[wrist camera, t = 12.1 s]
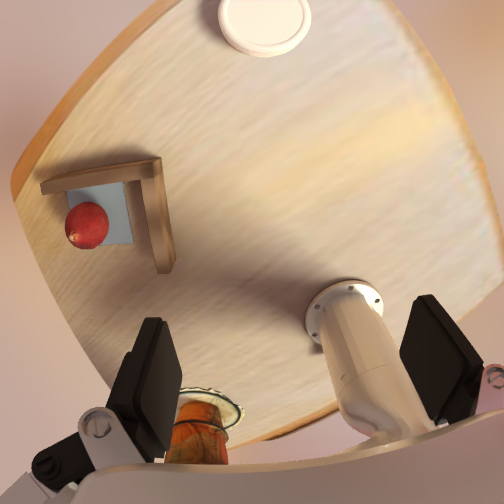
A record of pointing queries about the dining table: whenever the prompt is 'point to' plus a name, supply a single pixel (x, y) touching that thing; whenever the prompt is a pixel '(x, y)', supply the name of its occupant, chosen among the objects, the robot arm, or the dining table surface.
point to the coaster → (264, 25)
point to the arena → (152, 196)
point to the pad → (107, 209)
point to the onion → (87, 225)
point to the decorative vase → (202, 428)
